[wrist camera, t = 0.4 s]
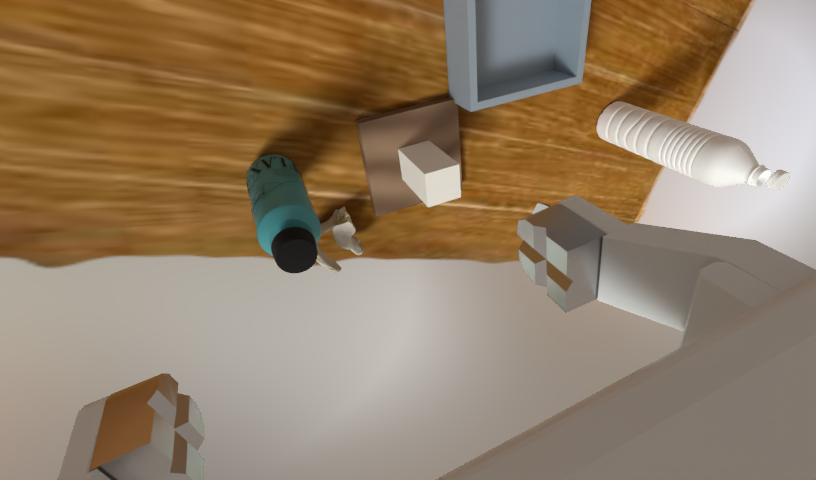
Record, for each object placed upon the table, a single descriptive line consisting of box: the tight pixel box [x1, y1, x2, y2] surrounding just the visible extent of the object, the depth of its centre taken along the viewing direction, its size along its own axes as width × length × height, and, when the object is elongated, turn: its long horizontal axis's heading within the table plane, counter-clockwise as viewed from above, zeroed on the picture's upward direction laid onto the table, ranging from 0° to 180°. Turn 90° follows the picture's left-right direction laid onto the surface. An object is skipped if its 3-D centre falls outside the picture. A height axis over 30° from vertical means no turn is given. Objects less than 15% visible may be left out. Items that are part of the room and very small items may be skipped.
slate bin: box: [443, 0, 591, 112], centre depth 53 cm, size 17×17×6 cm
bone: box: [316, 207, 365, 272], centre depth 59 cm, size 9×6×10 cm
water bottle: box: [596, 101, 790, 190], centre depth 62 cm, size 9×6×25 cm
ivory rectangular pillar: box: [398, 140, 461, 207], centre depth 56 cm, size 5×5×9 cm
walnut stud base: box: [355, 97, 462, 217], centre depth 58 cm, size 14×14×5 cm
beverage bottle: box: [246, 154, 321, 273], centre depth 46 cm, size 6×7×20 cm
